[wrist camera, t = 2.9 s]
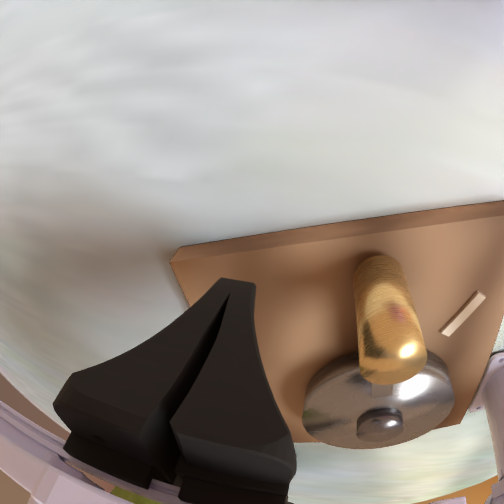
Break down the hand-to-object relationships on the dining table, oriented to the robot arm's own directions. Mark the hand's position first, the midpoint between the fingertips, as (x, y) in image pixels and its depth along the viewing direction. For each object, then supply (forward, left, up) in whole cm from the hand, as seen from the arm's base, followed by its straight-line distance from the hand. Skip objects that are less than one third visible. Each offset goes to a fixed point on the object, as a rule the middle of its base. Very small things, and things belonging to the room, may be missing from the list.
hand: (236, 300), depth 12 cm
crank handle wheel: (-5, +9, -3) cm, 11 cm away
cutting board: (-4, +10, -5) cm, 12 cm away
